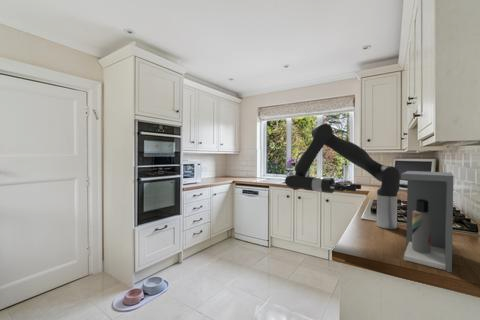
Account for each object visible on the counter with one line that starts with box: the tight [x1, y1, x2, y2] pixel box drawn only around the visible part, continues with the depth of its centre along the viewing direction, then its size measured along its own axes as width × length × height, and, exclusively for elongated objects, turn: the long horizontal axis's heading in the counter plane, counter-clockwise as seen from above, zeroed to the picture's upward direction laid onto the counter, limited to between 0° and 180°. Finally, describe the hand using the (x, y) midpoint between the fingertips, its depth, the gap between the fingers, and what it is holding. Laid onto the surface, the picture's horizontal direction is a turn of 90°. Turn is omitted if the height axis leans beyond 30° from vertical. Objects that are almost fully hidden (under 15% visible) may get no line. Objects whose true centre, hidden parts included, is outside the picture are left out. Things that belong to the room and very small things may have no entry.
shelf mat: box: [403, 242, 446, 271], centre depth 87 cm, size 19×12×2 cm, turn 138°
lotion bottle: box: [412, 199, 431, 253], centre depth 89 cm, size 6×6×20 cm
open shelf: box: [400, 170, 455, 273], centre depth 88 cm, size 22×14×32 cm, turn 138°
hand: (358, 187), depth 103 cm, fingers open, 8 cm apart
